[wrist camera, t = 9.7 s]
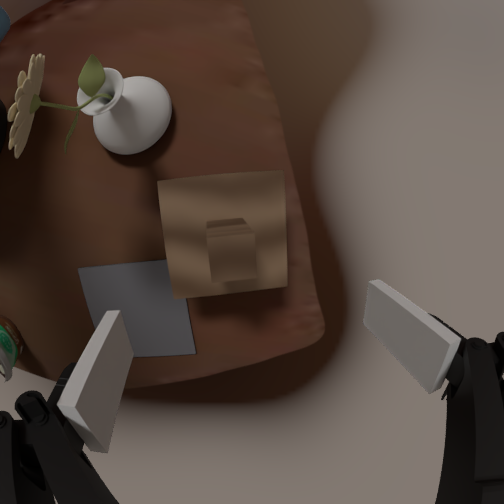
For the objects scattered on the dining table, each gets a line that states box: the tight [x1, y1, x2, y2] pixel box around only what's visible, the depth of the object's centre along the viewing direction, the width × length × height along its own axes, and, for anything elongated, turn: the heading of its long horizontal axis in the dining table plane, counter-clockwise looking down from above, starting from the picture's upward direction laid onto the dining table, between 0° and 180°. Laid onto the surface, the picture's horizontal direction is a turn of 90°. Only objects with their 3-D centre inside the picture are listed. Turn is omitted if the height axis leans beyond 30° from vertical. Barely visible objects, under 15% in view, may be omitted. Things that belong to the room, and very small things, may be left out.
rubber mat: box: [78, 259, 196, 357], centre depth 40 cm, size 17×17×1 cm
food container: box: [0, 315, 24, 382], centre depth 32 cm, size 12×6×10 cm, turn 36°
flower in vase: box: [8, 54, 172, 158], centre depth 20 cm, size 13×11×25 cm
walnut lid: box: [157, 170, 288, 299], centre depth 28 cm, size 14×14×9 cm
